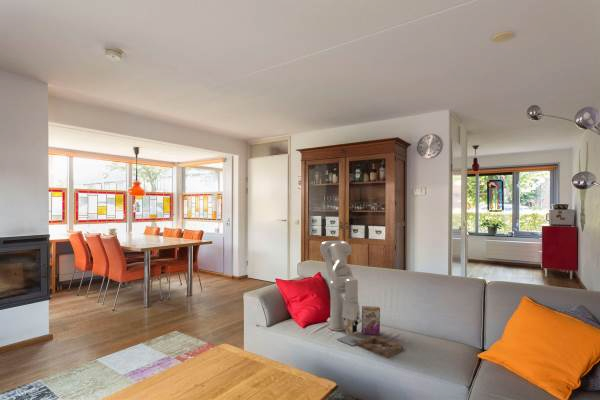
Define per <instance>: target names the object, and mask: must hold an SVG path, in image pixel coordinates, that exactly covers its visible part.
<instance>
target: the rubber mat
mask: <svg viewBox="0 0 600 400" xmlns="http://www.w3.org/2000/svg"><path fill="white" fill-rule="evenodd" d="M364 339H365V338H364ZM364 339H363V338H361V337H358V336H356V335H349V334H346V335H344V336H340V337H339V338H336V341H338V342H341V343H344V344H345V345H348V346H350V347H354V346H357V342H359V341H361V340H364Z"/></svg>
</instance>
